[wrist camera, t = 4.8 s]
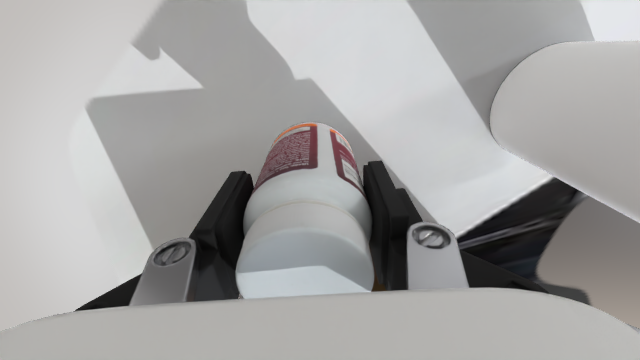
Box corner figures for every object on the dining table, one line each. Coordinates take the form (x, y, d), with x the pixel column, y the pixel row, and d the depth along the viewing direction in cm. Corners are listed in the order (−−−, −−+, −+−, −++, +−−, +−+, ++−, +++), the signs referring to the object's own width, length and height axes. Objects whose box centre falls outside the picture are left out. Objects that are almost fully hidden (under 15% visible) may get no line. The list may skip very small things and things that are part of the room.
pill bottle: (263, 188, 16) (214, 322, 8) (277, 110, 13) (226, 199, 6) (340, 204, 16) (358, 342, 9) (365, 132, 14) (416, 237, 7)
